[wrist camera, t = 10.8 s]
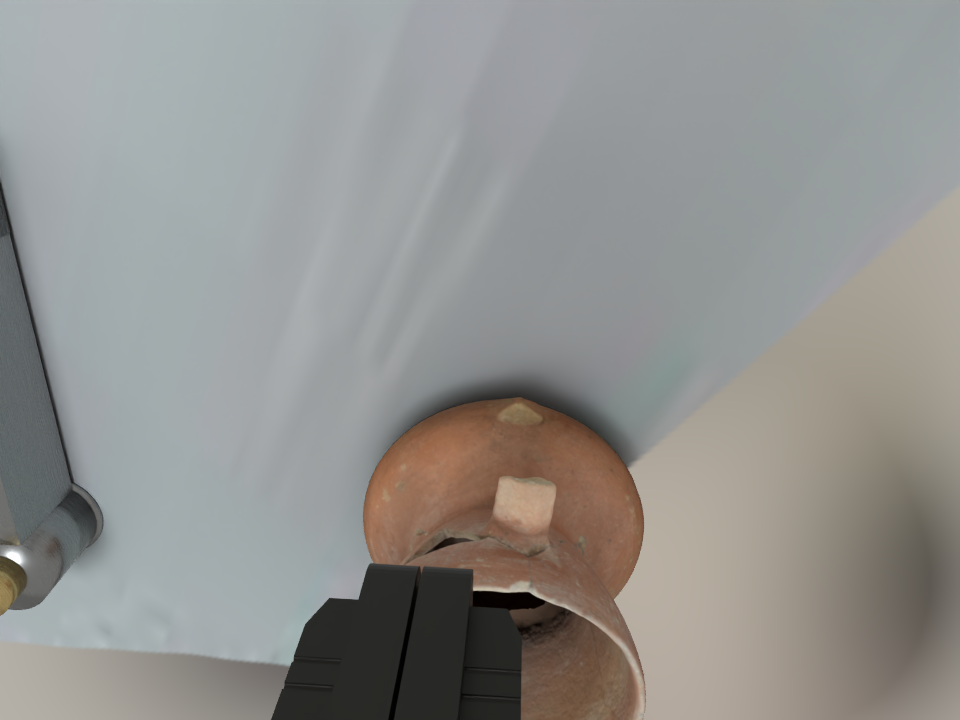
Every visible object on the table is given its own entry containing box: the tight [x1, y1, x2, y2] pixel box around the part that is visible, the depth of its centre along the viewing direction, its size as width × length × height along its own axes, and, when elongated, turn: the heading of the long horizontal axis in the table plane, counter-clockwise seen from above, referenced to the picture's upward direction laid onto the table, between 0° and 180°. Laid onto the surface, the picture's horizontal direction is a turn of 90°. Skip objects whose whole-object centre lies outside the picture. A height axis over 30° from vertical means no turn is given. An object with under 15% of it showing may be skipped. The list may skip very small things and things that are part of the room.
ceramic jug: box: [363, 397, 646, 720], centre depth 37 cm, size 18×14×14 cm
